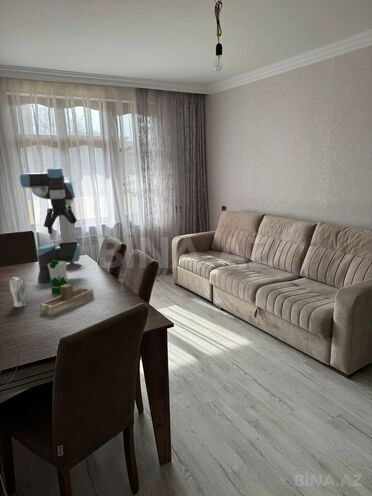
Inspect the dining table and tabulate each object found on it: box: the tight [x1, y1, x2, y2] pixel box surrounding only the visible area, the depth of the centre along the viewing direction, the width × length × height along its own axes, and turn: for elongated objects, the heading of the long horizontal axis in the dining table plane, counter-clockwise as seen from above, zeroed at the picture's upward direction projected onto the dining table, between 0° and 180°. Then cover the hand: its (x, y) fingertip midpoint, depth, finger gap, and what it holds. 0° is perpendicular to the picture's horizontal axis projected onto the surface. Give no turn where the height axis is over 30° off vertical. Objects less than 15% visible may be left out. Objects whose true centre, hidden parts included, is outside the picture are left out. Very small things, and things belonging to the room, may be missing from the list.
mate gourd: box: [66, 242, 81, 269], centre depth 260 cm, size 16×14×20 cm
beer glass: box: [9, 276, 27, 308], centre depth 185 cm, size 7×7×15 cm
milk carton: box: [47, 260, 69, 295], centre depth 203 cm, size 9×9×20 cm
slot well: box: [39, 286, 95, 317], centre depth 184 cm, size 9×27×5 cm, turn 150°
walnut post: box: [60, 283, 74, 302], centre depth 183 cm, size 4×4×10 cm
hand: (62, 237), depth 188 cm, fingers open, 13 cm apart
